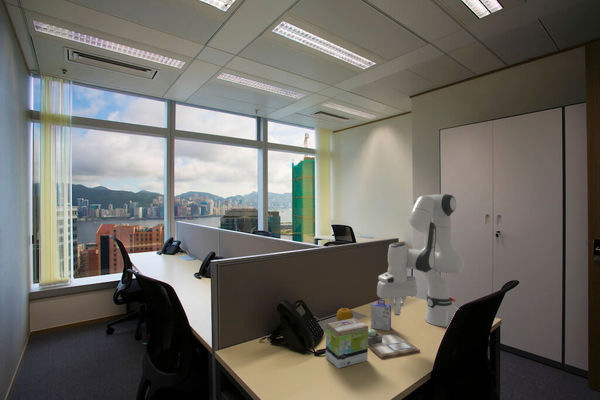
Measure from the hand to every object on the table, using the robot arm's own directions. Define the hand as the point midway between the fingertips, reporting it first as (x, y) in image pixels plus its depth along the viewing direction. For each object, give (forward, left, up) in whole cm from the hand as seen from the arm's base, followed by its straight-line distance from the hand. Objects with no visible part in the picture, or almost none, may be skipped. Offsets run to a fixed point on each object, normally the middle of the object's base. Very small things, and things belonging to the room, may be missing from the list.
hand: (397, 306), depth 136 cm
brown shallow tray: (+6, +1, -17) cm, 18 cm away
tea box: (+30, +6, -17) cm, 35 cm away
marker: (0, 0, -4) cm, 4 cm away
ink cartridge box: (-2, -17, -17) cm, 24 cm away
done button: (+12, -4, -15) cm, 19 cm away
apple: (+15, -26, -17) cm, 34 cm away
